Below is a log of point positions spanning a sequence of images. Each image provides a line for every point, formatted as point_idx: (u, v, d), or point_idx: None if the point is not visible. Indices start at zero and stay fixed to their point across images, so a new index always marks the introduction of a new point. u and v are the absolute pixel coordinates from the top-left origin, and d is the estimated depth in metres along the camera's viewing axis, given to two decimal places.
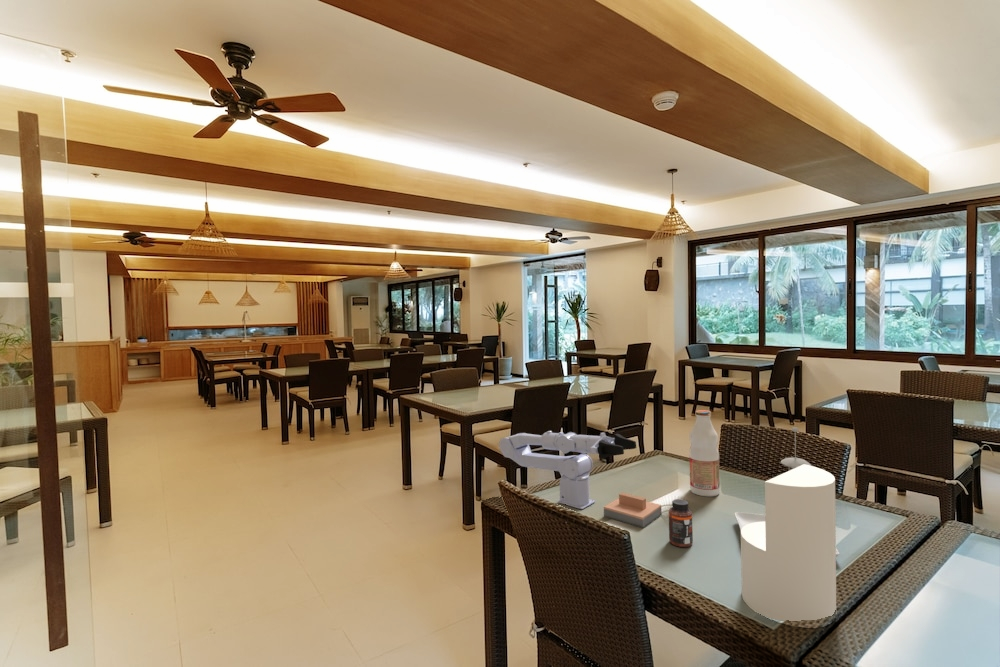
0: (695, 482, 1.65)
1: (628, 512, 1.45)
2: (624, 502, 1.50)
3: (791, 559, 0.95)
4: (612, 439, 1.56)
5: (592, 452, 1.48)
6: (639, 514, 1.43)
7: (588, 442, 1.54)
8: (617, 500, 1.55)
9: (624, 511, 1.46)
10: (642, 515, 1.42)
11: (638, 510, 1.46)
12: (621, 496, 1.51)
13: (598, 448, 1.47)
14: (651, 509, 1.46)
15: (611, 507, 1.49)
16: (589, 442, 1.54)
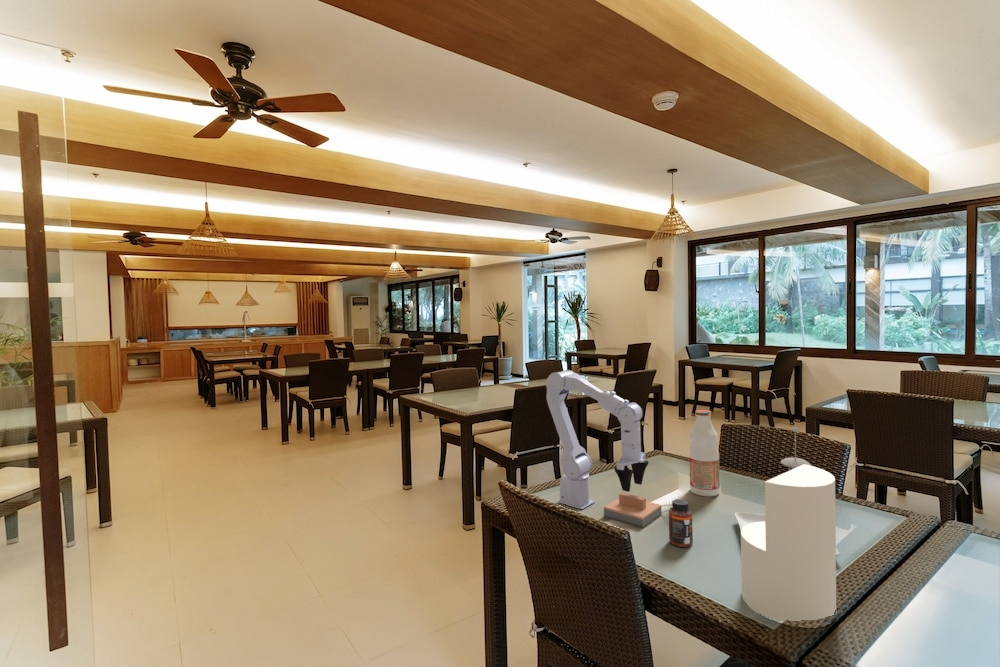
0: (695, 482, 1.65)
1: (628, 512, 1.45)
2: (624, 502, 1.50)
3: (791, 559, 0.95)
4: None
5: (617, 465, 1.44)
6: (639, 514, 1.43)
7: (630, 448, 1.46)
8: (617, 500, 1.55)
9: (624, 511, 1.46)
10: (642, 515, 1.42)
11: (638, 510, 1.46)
12: (621, 496, 1.51)
13: (623, 470, 1.44)
14: (651, 509, 1.46)
15: (611, 507, 1.49)
16: (630, 449, 1.46)
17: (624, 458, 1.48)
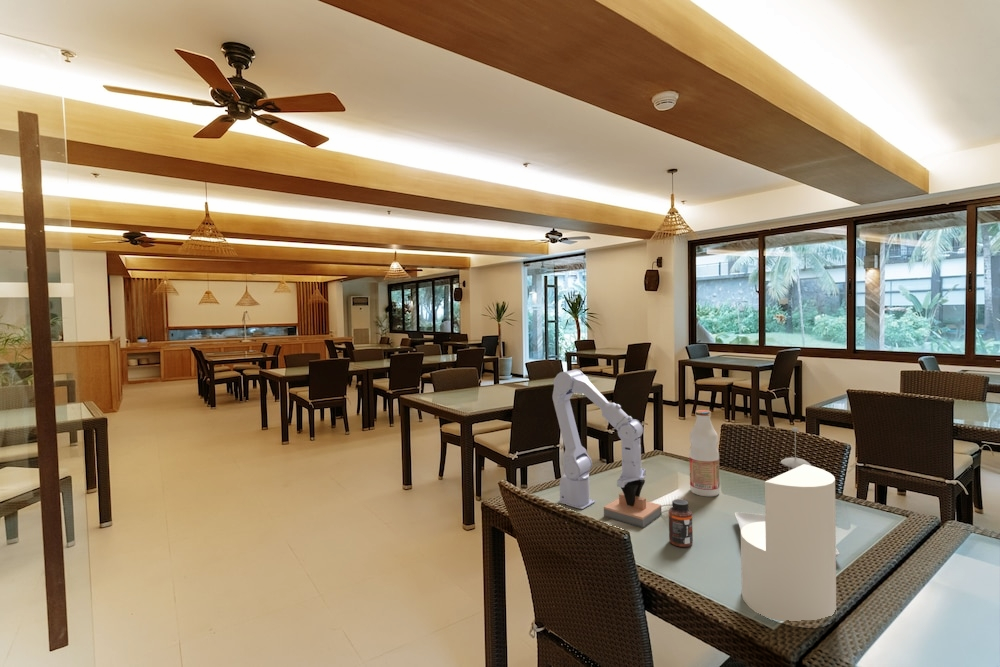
0: (695, 482, 1.65)
1: (628, 512, 1.45)
2: (624, 502, 1.50)
3: (791, 559, 0.95)
4: None
5: (618, 482, 1.44)
6: (639, 514, 1.43)
7: (631, 465, 1.46)
8: (617, 500, 1.55)
9: (624, 511, 1.46)
10: (642, 515, 1.42)
11: (638, 510, 1.46)
12: (621, 496, 1.51)
13: (627, 485, 1.46)
14: (651, 509, 1.46)
15: (611, 507, 1.49)
16: (631, 466, 1.46)
17: (624, 475, 1.48)
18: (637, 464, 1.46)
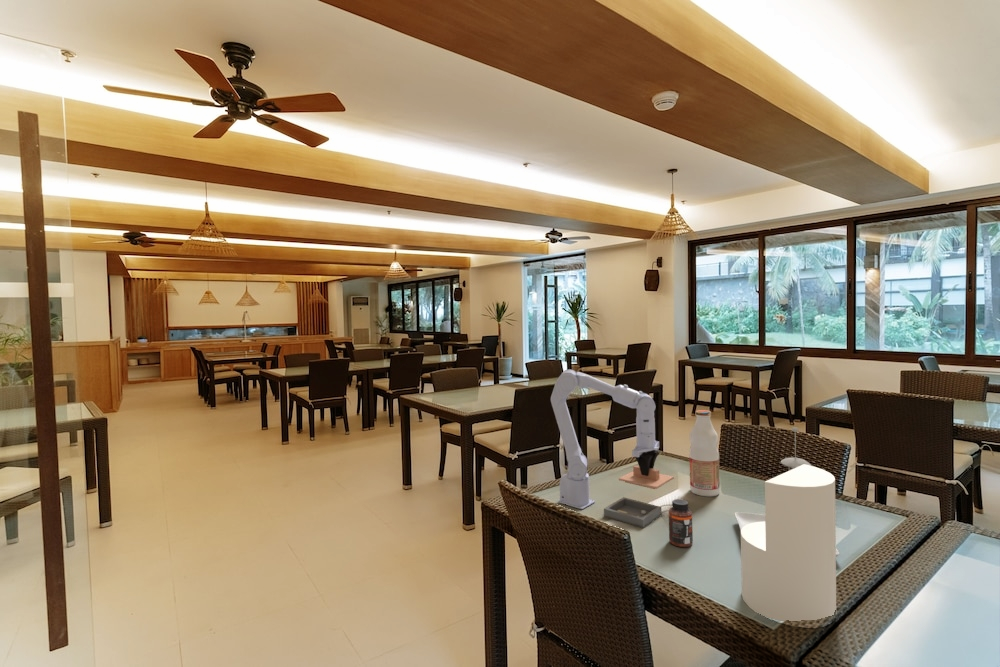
0: (695, 482, 1.65)
1: (642, 482, 1.52)
2: (638, 474, 1.57)
3: (791, 559, 0.95)
4: None
5: (633, 452, 1.51)
6: (653, 484, 1.50)
7: (645, 436, 1.53)
8: (631, 472, 1.61)
9: (638, 482, 1.52)
10: (656, 485, 1.49)
11: (652, 481, 1.53)
12: (635, 468, 1.58)
13: (642, 455, 1.53)
14: (664, 480, 1.53)
15: (626, 478, 1.56)
16: (645, 437, 1.53)
17: (639, 446, 1.54)
18: (651, 435, 1.53)
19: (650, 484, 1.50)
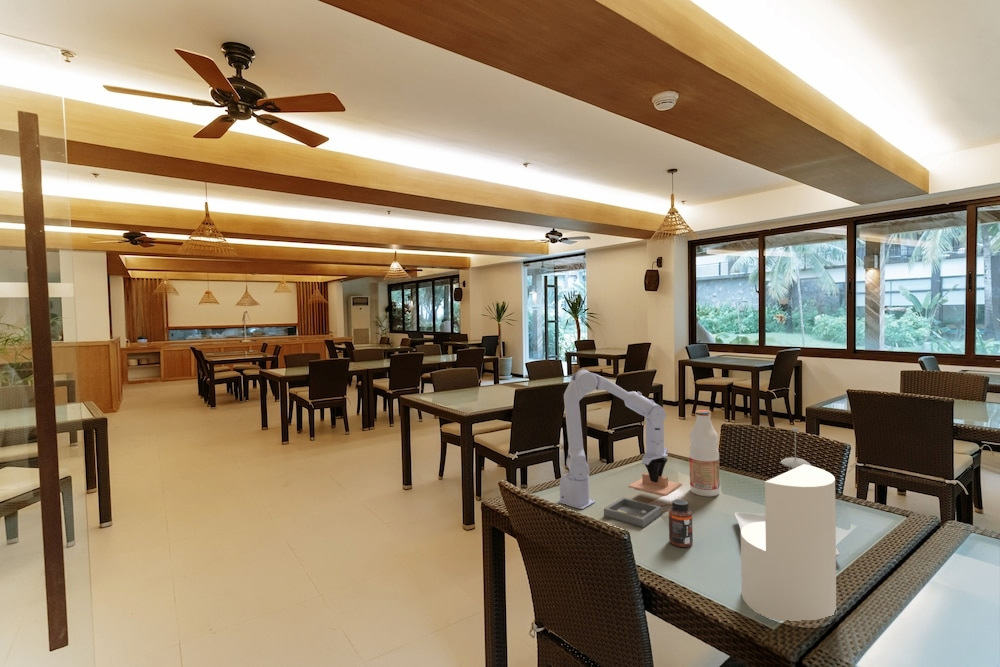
0: (695, 482, 1.65)
1: (652, 490, 1.57)
2: (647, 481, 1.62)
3: (791, 559, 0.95)
4: None
5: (643, 460, 1.56)
6: (662, 491, 1.55)
7: (655, 444, 1.58)
8: (640, 479, 1.66)
9: (648, 489, 1.57)
10: (665, 492, 1.54)
11: (661, 488, 1.58)
12: (644, 476, 1.63)
13: (652, 462, 1.58)
14: (673, 487, 1.58)
15: (635, 485, 1.61)
16: (655, 445, 1.58)
17: (649, 453, 1.59)
18: (660, 443, 1.58)
19: (659, 491, 1.55)
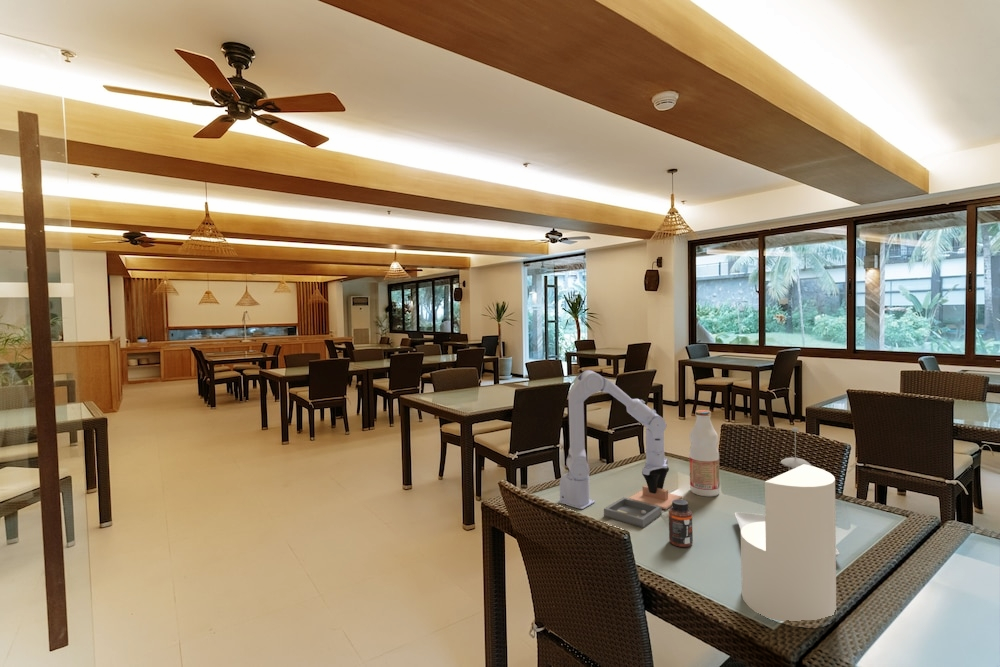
0: (695, 482, 1.65)
1: (652, 503, 1.57)
2: (647, 494, 1.62)
3: (791, 559, 0.95)
4: None
5: (643, 470, 1.56)
6: (662, 504, 1.55)
7: (655, 454, 1.58)
8: (640, 492, 1.67)
9: (648, 502, 1.57)
10: (665, 505, 1.54)
11: (661, 501, 1.58)
12: (644, 488, 1.63)
13: (650, 474, 1.57)
14: None
15: (636, 498, 1.61)
16: (655, 455, 1.58)
17: (649, 464, 1.59)
18: (661, 453, 1.58)
19: (659, 504, 1.55)
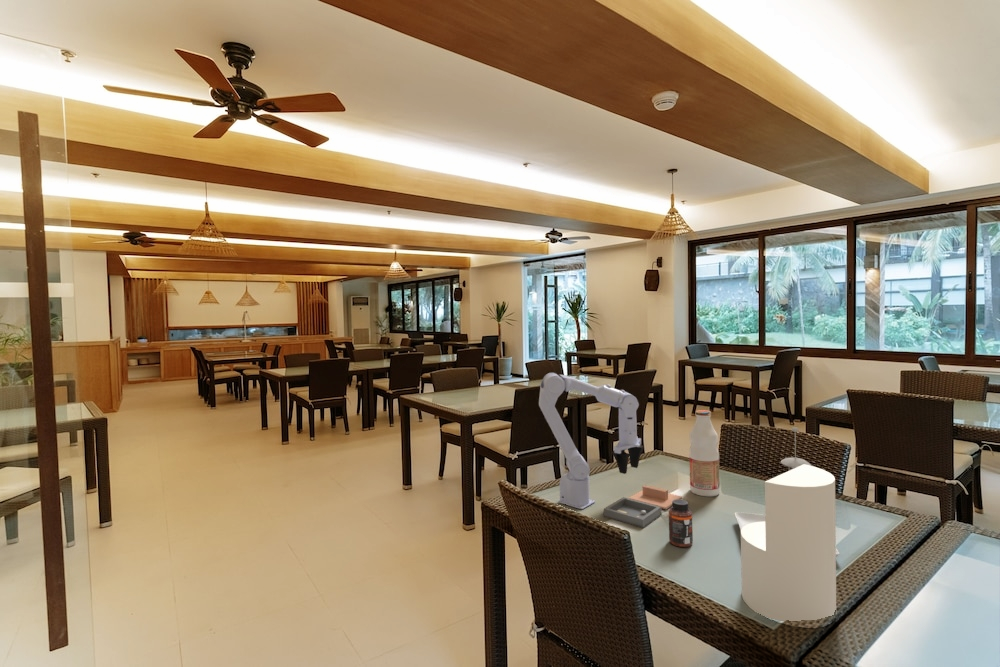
0: (695, 482, 1.65)
1: (652, 503, 1.57)
2: (647, 494, 1.62)
3: (791, 559, 0.95)
4: None
5: (615, 449, 1.56)
6: (662, 504, 1.55)
7: (627, 433, 1.58)
8: (640, 492, 1.67)
9: (648, 502, 1.57)
10: (665, 505, 1.54)
11: (661, 501, 1.58)
12: (644, 488, 1.63)
13: (620, 453, 1.56)
14: None
15: (636, 498, 1.61)
16: (627, 434, 1.58)
17: (621, 443, 1.59)
18: (633, 432, 1.58)
19: (659, 504, 1.55)
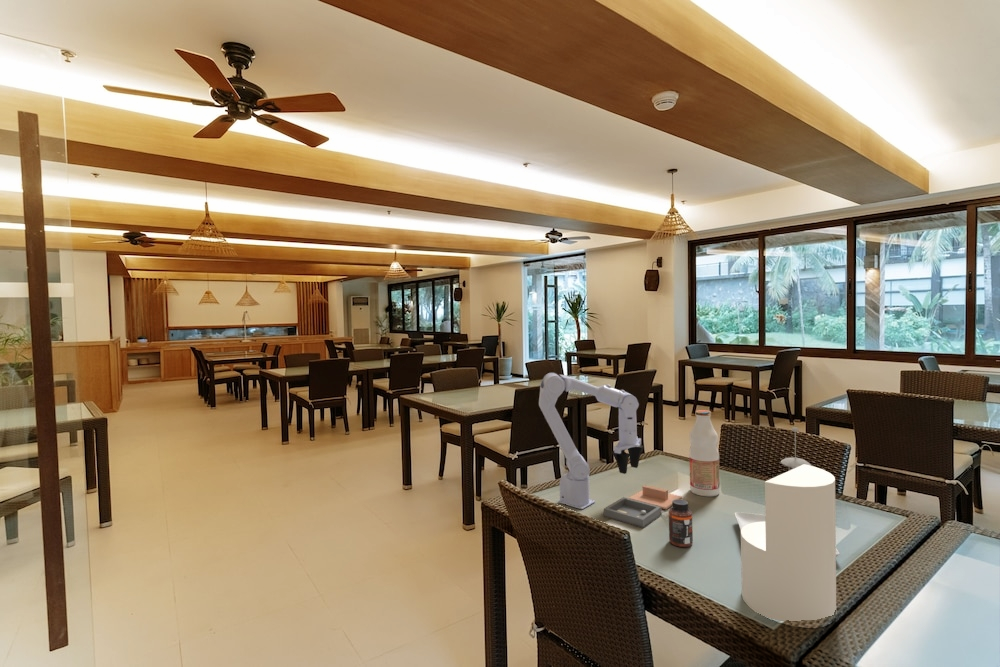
0: (695, 482, 1.65)
1: (652, 502, 1.57)
2: (647, 494, 1.62)
3: (791, 559, 0.95)
4: None
5: (615, 449, 1.56)
6: (662, 504, 1.55)
7: (627, 433, 1.58)
8: (640, 492, 1.67)
9: (648, 502, 1.57)
10: (665, 505, 1.54)
11: (661, 501, 1.58)
12: (644, 488, 1.63)
13: (620, 453, 1.56)
14: None
15: (636, 498, 1.61)
16: (627, 434, 1.58)
17: (621, 443, 1.59)
18: (633, 432, 1.58)
19: (659, 504, 1.55)
